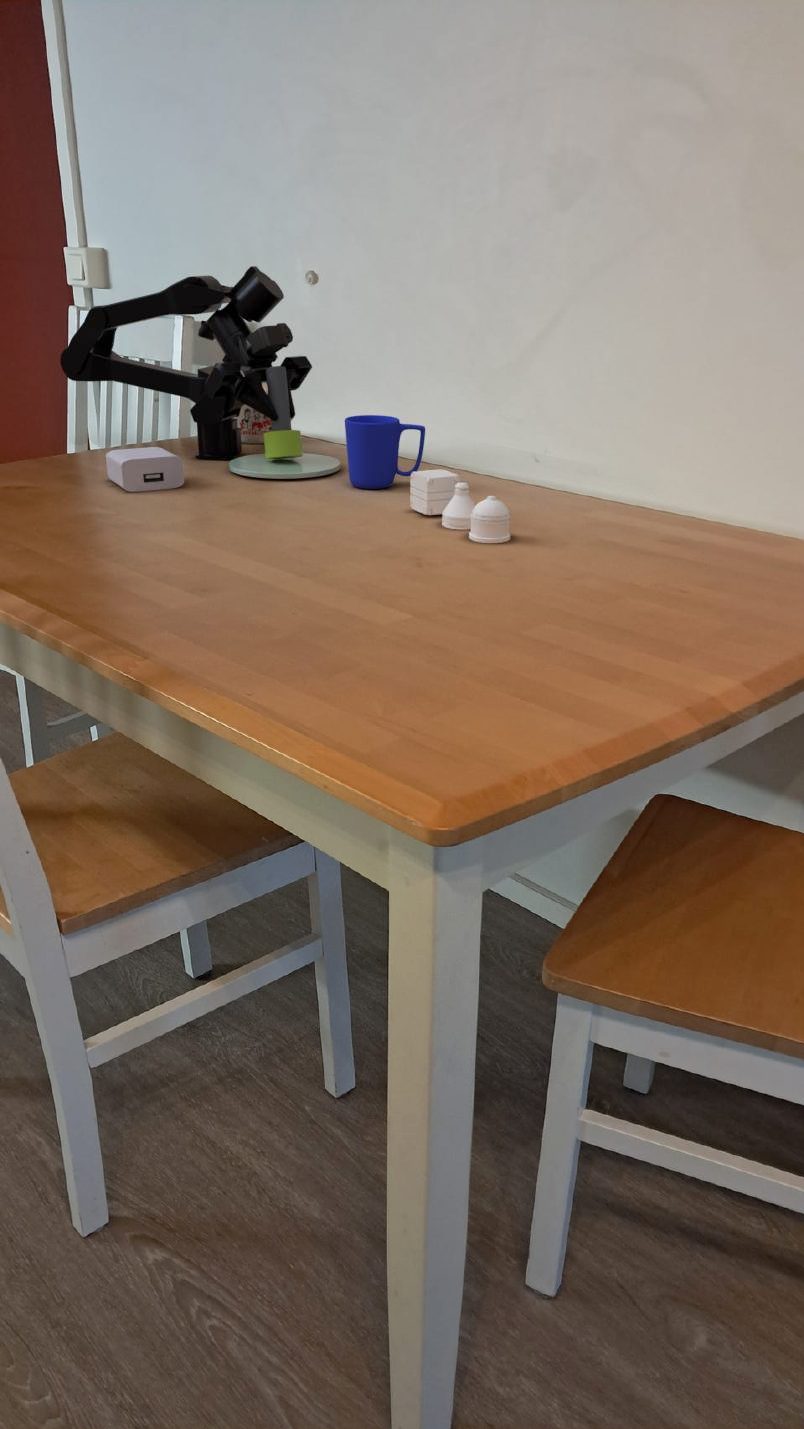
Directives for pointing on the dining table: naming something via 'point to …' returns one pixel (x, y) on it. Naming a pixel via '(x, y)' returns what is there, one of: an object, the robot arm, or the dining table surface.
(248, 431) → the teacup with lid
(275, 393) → the sponge wand
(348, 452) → the mug
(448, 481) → the container set
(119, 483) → the charger
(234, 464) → the plate
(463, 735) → the dining table surface
